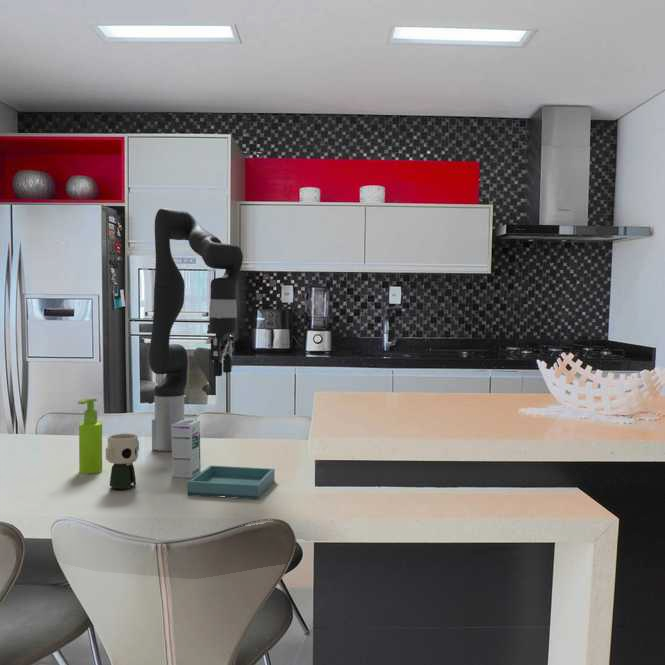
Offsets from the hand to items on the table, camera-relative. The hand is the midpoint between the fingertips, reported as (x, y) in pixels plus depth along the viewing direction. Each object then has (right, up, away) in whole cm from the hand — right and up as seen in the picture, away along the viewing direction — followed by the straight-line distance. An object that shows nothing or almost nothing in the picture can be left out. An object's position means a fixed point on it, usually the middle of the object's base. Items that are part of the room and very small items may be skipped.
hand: (222, 374), depth 174 cm
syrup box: (-9, -27, -5) cm, 29 cm away
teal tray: (+6, -28, -16) cm, 33 cm away
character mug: (-22, -28, -17) cm, 39 cm away
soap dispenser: (-36, -27, -3) cm, 45 cm away
